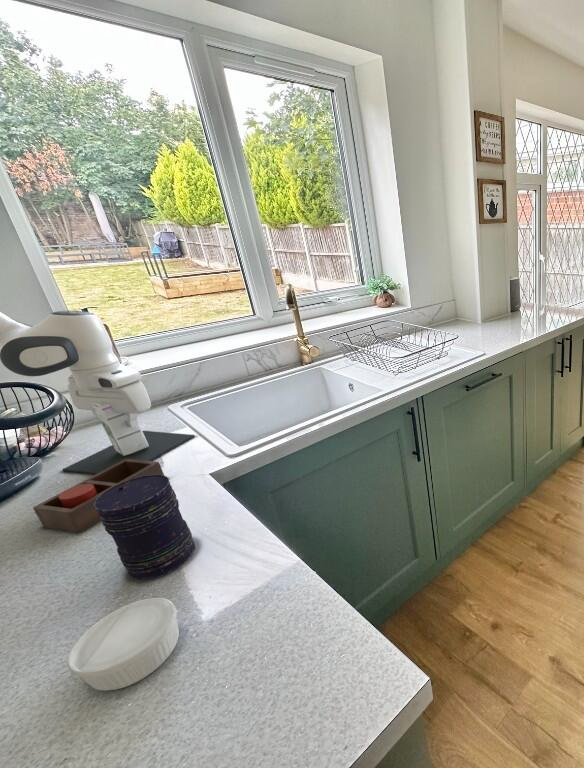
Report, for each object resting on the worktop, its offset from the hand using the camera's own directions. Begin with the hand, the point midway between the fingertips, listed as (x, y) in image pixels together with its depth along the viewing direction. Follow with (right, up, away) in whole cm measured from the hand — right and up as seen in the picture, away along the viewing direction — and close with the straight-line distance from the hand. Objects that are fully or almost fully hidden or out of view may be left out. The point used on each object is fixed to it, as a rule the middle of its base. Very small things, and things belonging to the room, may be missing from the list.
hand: (121, 425), depth 107 cm
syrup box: (0, -7, +3) cm, 7 cm away
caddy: (+13, -15, -16) cm, 25 cm away
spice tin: (+12, -17, -20) cm, 29 cm away
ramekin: (+49, -28, -49) cm, 74 cm away
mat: (0, -8, +3) cm, 8 cm away
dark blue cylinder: (+38, -21, -32) cm, 54 cm away
